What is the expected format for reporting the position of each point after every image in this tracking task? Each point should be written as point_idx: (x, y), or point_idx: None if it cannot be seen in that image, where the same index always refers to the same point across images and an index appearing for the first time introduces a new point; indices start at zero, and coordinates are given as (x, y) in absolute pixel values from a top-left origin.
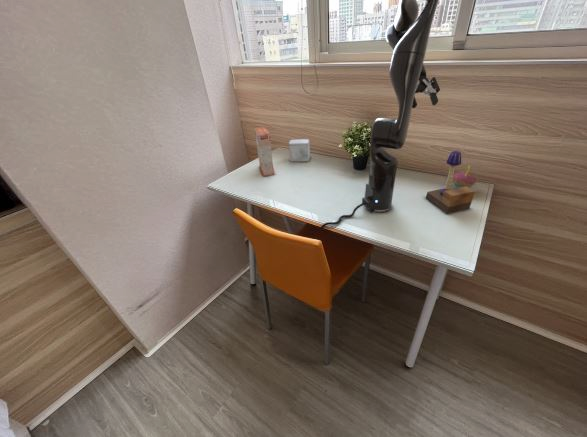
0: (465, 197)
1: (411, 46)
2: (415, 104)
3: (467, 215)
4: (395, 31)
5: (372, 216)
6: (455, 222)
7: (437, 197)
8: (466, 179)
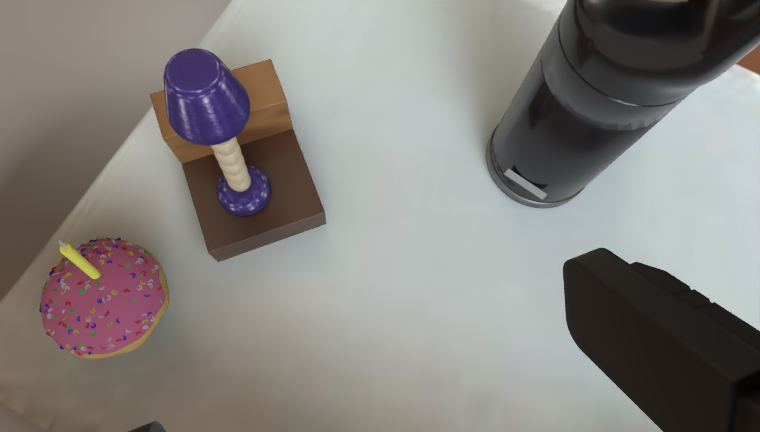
0: None
1: None
2: (603, 248)
3: None
4: None
5: None
6: (272, 59)
7: (295, 161)
8: (110, 248)
